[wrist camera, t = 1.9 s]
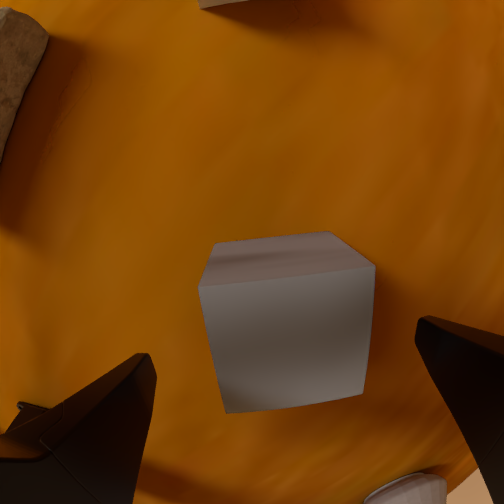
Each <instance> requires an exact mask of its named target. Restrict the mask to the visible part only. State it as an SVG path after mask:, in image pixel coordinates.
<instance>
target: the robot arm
mask: <svg viewBox="0 0 504 504" xmlns="http://www.w3.org/2000/svg"><path fill="white" fill-rule="evenodd" d="M415 344H416V347H417V349H418V351H419V353H420V355H421V357H422V359H423V361H424V363H425V366H426V368H427V370H428V372H429V374H430V376H431V378H432V380H433V382H434V383H435V385H436V387H437V388H438V390H439V392H440V394H441V395H442V397H443V399H444V401H445V402H446V404H447V406H448V408H449V410H450V411H451V413H452V415H453V417H454V419H455V421H456V423H457V424H458V426H459V428H460V430H461V432H462V434H463V436H464V438H465V440H466V442H467V444H468V446H469V448H470V450H471V452H472V454H473V456H474V459H475V461H476V463H477V465H478V468H479V469H480V472H481V474H482V476H483V479H484V481H485V484H486V486H487V488H488V490H489V493H490V496H491V498H492V501H493V503H494V504H504V336H501V335H497V334H494V333H490V332H487V331H483V330H479V329H476V328H472V327H469V326H465V325H462V324H458V323H455V322H451V321H447V320H444V319H440V318H437V317H433V316H430V315H429V316H424V317H421V318H419V320H418V323H417V328H416V334H415ZM156 381H157V375H156V371H155V368H154V365H153V363H152V360H151V357H150V355H149V354H148V353H137V354H135V355H133V356H132V357H130V358H129V359H127V360H126V361H124V362H123V363H121V364H120V365H118V366H117V367H115V368H114V369H112V370H111V371H109V372H108V373H106V374H104V375H103V376H101V377H100V378H98V379H97V380H95V381H94V382H92V383H91V384H89V385H88V386H86V387H84V388H83V389H81V390H80V391H78V392H77V393H75V394H74V395H72V396H70V397H69V398H67V399H66V400H64V401H63V402H61V403H59V404H58V405H56V406H55V407H53V408H51V409H46V408H42V407H38V406H34V405H31V404H27V403H24V402H20V401H19V402H18V403H17V407H18V409H19V410H20V412H19V414H18V415H17V416H16V418H15V419H14V420H13V422H12V423H11V425H10V426H9V428H8V429H7V430H6V432H5V433H4V434H1V435H0V504H132V503H133V497H134V492H135V488H136V483H137V478H138V473H139V469H140V464H141V460H142V456H143V451H144V447H145V443H146V439H147V434H148V430H149V426H150V422H151V418H152V412H153V404H154V396H155V389H156Z"/></svg>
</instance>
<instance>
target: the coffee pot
mask: <svg viewBox="0 0 504 504" xmlns="http://www.w3.org/2000/svg"><path fill="white" fill-rule="evenodd" d="M446 497H447V481H446V480H445V479H444V478H442V477H440V476H438V475H435V474H423V473H414V474H410V475H407V476H404V477H402V478H399V479H397V480H395V481H392V482H390V483H388V484H386V485H384V486H383V487H381V488H379V489H377V490H376V491H374V492H373V493H371V494H370V495H369V496H368V497H367V498H366V499H365V500H364V504H446Z"/></svg>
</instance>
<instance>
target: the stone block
mask: <svg viewBox="0 0 504 504" xmlns="http://www.w3.org/2000/svg"><path fill="white" fill-rule="evenodd" d="M48 37H49V35H48V33H47V32H46V30H45V29H44V28H43V27H42V26H41V25H40V24H39V23H38V22H37V21H35V20H34V19H33V18H31V17H30V16H29V15H27V14H24V13H21V12H18V11H15V10H13V9H11V8H9V7H2V8H0V163H1V159H2V155H3V150H4V146H5V143H6V141H7V138H8V135H9V132H10V130H11V127H12V124H13V121H14V118H15V115H16V112H17V110H18V107H19V105H20V103H21V100H22V97H23V94H24V91H25V89H26V87H27V86H28V84H29V82H30V80H31V78H32V76H33V74H34V72H35V70H36V68H37V66H38V64H39V62H40V60H41V58H42V56H43V53H44V51H45V49H46V45H47V41H48Z"/></svg>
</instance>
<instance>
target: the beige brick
mask: <svg viewBox="0 0 504 504" xmlns="http://www.w3.org/2000/svg"><path fill="white" fill-rule="evenodd" d="M241 1H248V0H198V3H199V7H200V9H202V8H207V7H212V6H217V5H222V4H228V3H234V2H241Z"/></svg>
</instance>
